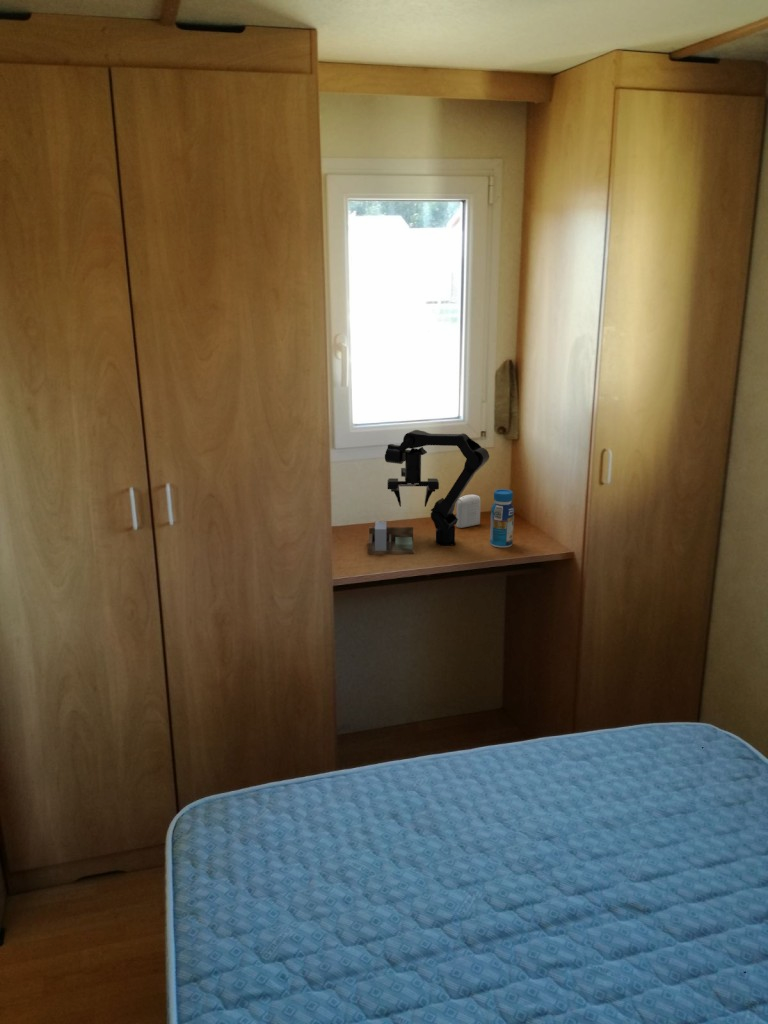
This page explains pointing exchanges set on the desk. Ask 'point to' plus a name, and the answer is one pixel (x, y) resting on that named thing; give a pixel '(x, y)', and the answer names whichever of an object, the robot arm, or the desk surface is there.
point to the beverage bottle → (502, 519)
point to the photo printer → (468, 511)
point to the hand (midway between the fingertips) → (412, 506)
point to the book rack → (394, 541)
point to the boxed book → (380, 535)
